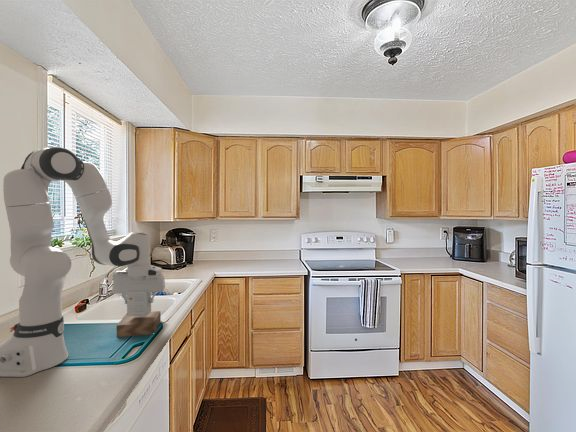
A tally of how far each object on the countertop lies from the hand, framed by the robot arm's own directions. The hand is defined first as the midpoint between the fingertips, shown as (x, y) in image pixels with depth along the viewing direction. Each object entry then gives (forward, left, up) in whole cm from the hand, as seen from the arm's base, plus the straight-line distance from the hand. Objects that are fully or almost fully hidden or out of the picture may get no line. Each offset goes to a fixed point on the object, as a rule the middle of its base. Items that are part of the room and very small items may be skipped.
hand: (139, 302), depth 131 cm
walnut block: (0, 0, -11) cm, 11 cm away
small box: (0, 0, -5) cm, 5 cm away
